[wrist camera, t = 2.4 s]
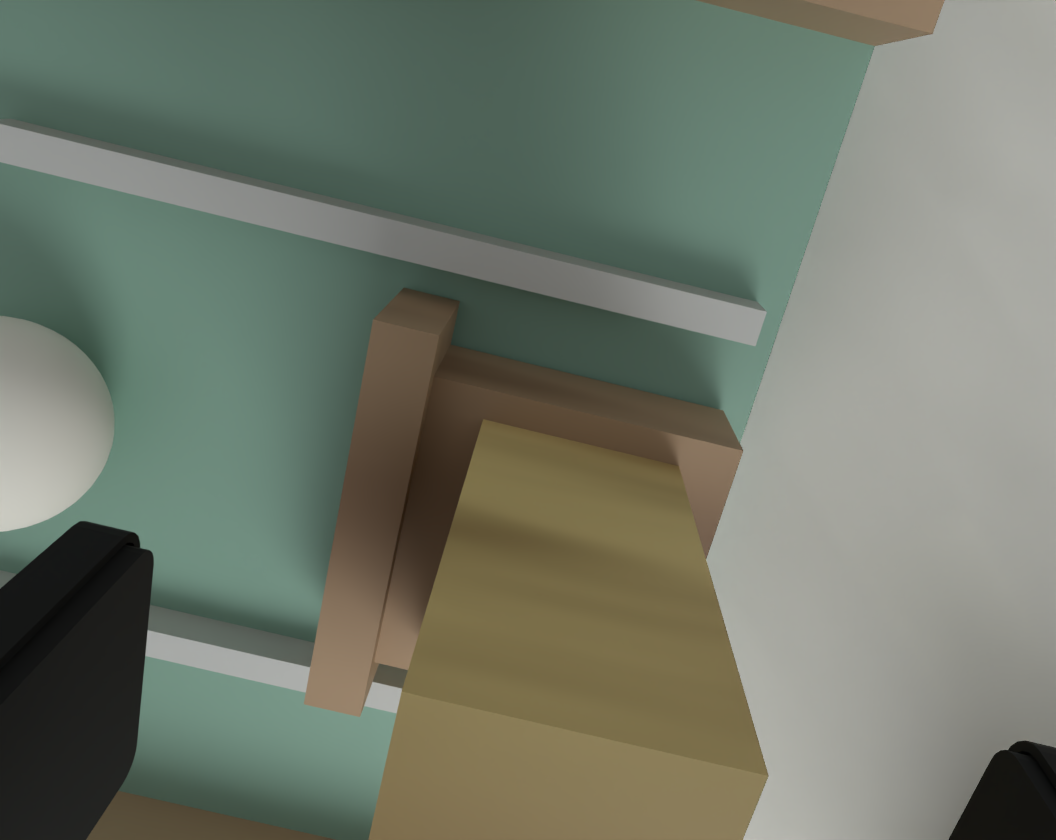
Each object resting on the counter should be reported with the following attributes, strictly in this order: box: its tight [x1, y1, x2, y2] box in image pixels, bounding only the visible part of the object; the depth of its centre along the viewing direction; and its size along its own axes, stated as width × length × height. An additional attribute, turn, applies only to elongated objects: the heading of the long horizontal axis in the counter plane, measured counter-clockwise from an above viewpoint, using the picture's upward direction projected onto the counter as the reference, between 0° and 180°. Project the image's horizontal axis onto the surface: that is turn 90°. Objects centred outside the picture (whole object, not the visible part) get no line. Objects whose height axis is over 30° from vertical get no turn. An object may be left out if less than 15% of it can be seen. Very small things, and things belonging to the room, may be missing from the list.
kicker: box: [304, 288, 768, 840], centre depth 13 cm, size 7×6×9 cm
